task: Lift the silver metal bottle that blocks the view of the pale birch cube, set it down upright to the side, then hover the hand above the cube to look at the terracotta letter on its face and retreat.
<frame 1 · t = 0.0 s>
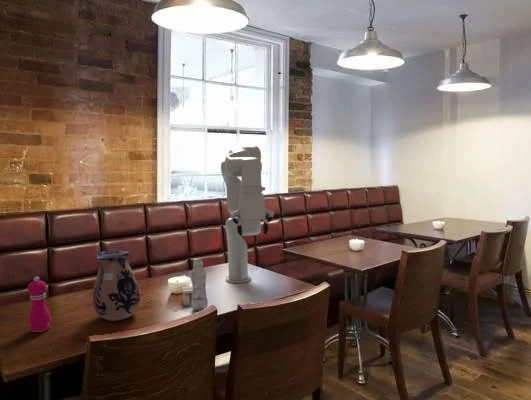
hand: (252, 234, 163), 31 cm above the table, tool pointing down, fingers open, 9 cm apart
ceramic pitcher: (115, 316, 166), on the table
silver metal bottle: (200, 310, 171), on the table
letter cube: (190, 302, 180), on the table
pepper mill: (40, 330, 154), on the table
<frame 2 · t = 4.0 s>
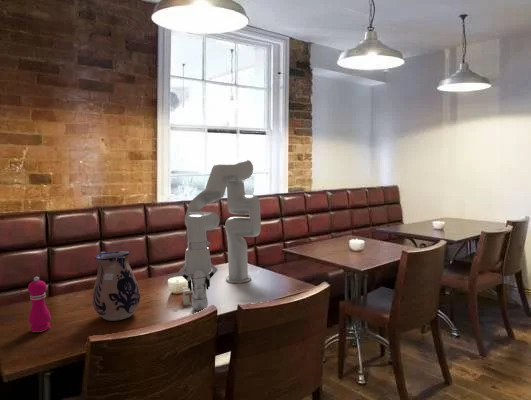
hand: (199, 288, 170), 9 cm above the table, tool pointing down, fingers closed on silver metal bottle, 6 cm apart
silver metal bottle: (200, 309, 171), on the table, touching gripper
everything else where it was.
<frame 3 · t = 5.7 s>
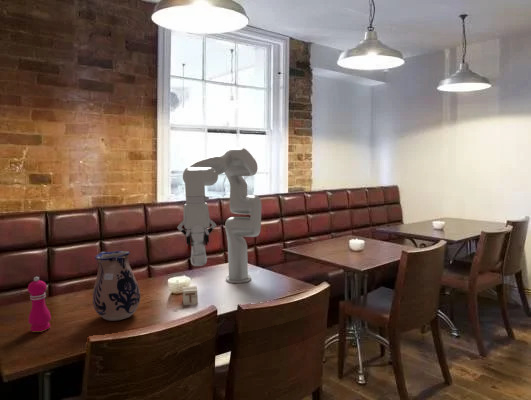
hand: (197, 244, 168), 27 cm above the table, tool pointing down, fingers closed on silver metal bottle, 6 cm apart
silver metal bottle: (199, 266, 169), point 18 cm above the table, touching gripper
everything else where it was.
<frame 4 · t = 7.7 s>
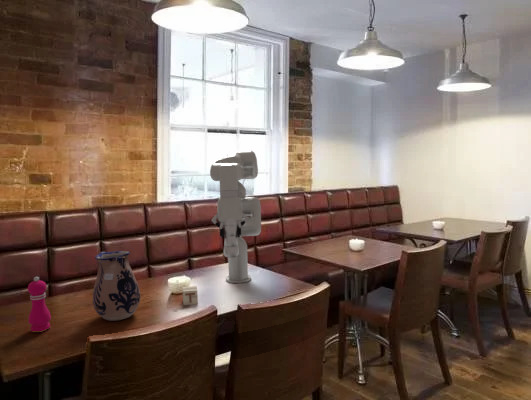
hand: (230, 237, 175), 28 cm above the table, tool pointing down, fingers closed on silver metal bottle, 6 cm apart
silver metal bottle: (231, 257, 176), point 19 cm above the table, touching gripper
everything else where it was.
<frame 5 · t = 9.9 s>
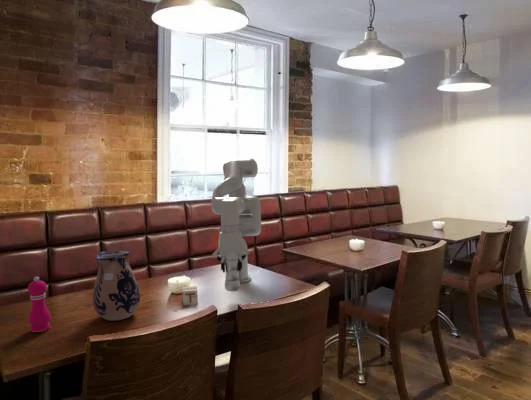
hand: (231, 270, 177), 14 cm above the table, tool pointing down, fingers closed on silver metal bottle, 6 cm apart
silver metal bottle: (232, 291, 178), point 5 cm above the table, touching gripper
everything else where it was.
when the fingers open (10 cm above the table, at t = 11.7 s): silver metal bottle drops 1 cm, on the table.
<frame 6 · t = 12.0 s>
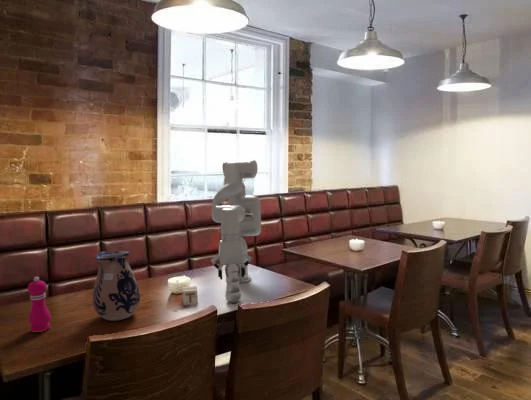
hand: (231, 277, 177), 11 cm above the table, tool pointing down, fingers open, 8 cm apart
silver metal bottle: (233, 302, 179), on the table
everything else where it was.
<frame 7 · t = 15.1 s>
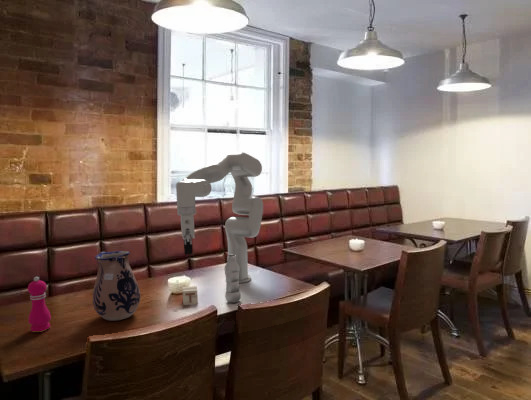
hand: (188, 251, 176), 22 cm above the table, tool pointing down, fingers open, 9 cm apart
nothing on the table moved.
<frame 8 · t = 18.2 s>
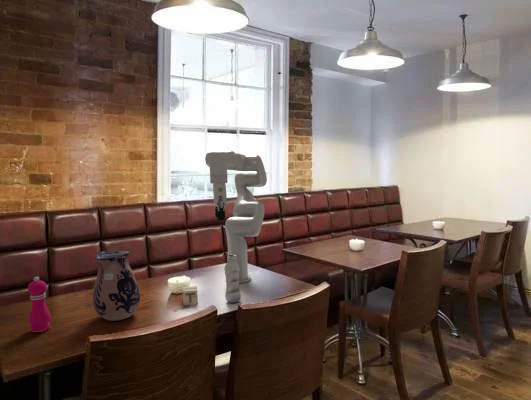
hand: (220, 218, 185), 34 cm above the table, tool pointing down, fingers open, 9 cm apart
nothing on the table moved.
at the end: silver metal bottle inside the target area (0.2 cm from its centre), on the table; silver metal bottle tilted 0°; letter cube moved 0.1 cm from its start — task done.
